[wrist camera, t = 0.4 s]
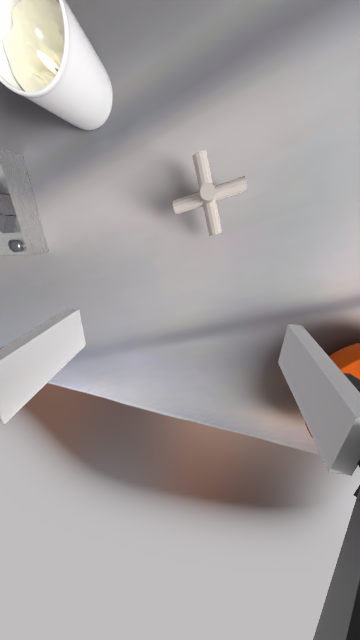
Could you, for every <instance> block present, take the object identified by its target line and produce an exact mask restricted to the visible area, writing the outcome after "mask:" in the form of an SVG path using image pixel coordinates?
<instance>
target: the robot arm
mask: <svg viewBox="0 0 360 640" xmlns="http://www.w3.org/2000/svg"><path fill="white" fill-rule="evenodd" d="M85 345H86V343H85V338H84V333H83V328H82V322H81V317H80V312H79V309H70V308H68V309H66V310H64V311H63V312H61V313H59V314H58V315H56V316H54V317H53V318H51V319H49V320H48V321H46V322H44V323H43V324H41V325H39V326H38V327H36V328H34V329H33V330H31V331H29V332H28V333H26V334H24V335H23V336H21V337H19V338H18V339H16V340H14V341H13V342H11V343H10V344H8V345H6V346H4V347H2V348H1V349H0V424H3V425H4V424H5V423H6V422H7V421H8V420H9V419H10V418H11V417H13V415H15V413H17V412H18V411H19V410H20V409H21V408H22V407H23V406H24V405H25V404H26V403H27V402H28V401H29V400H30V399H31V398H32V397H33V396H34V395H35V394H36V393H37V392H38V391H39V390H40V389H41V388H42V387H43V386H44V385H45V384H46V383H47V382H48V381H49V380H50V379H52V378H53V377H54V376H55V375H56V374H57V373H58V372H59V371H60V370H61V369H62V368H63V367H64V366H65V365H66V364H67V363H68V362H69V361H70V360H71V359H72V358H73V357H74V356H75V355H76V354H77V353H78V352H79V351H80V350H81V349H82V348H83V347H84V346H85ZM278 364H279V366H280V368H281V370H282V372H283V375H284V377H285V379H286V381H287V383H288V385H289V388H290V390H291V392H292V394H293V396H294V398H295V400H296V403H297V405H298V407H299V409H300V411H301V413H302V416H303V418H304V420H305V422H306V424H307V426H308V429H309V431H310V433H311V435H312V437H313V439H314V441H315V444H316V446H317V448H318V450H319V452H320V454H321V457H322V459H323V461H324V463H325V465H326V467H327V470H328V472H331V473H338V474H345V475H352V474H353V472H354V471H355V469H356V467H357V466H358V465H359V467H360V380H359V379H358V378H356V377H355V376H353V375H352V374H349V373H343V372H342V371H341V370H340V369H339V368H338V367H337V366H336V364H335V363H334V362H333V361H332V360H331V359H330V357H329V356H328V355H327V354H326V353H325V352H324V350H323V349H322V348H321V347H320V346H319V345H318V343H317V342H316V341H315V340H314V339H313V338H312V336H311V335H310V334H309V333H308V332H307V331H306V330H305V328H304V327H303V326H302V325H293V324H288V326H287V330H286V334H285V337H284V341H283V345H282V349H281V353H280V357H279V361H278ZM354 496H356V497H357V499H356V502H355V505H354V509H353V512H352V515H351V519H350V522H349V525H348V528H347V532H346V535H345V538H344V541H343V545H342V548H341V551H340V554H339V558H338V561H337V564H336V568H335V571H334V574H333V577H332V580H331V584H330V587H329V590H328V593H327V597H326V600H325V603H324V607H323V610H322V613H321V616H320V619H319V623H318V626H317V629H316V632H315V636H314V639H313V640H360V486H359V487H358V489H357V490H356V492H355V494H354Z"/></svg>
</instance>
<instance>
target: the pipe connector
mask: <svg viewBox="0 0 360 640" xmlns="http://www.w3.org/2000/svg"><path fill="white" fill-rule="evenodd" d="M193 161H194V165H195V170H196V175H197V179H198V184H199V189H200V192H197V193H194V194H191V195H188V196H185V197H182V198H180V199H177V200H174V201H172V204H173V209H174V212H175V214H180V213H183V212H186V211H189V210H192V209H195V208H198V207H201V206H203V207H204V212H205V217H206V221H207V226H208V231H209V235H210V236H211V235H215V234H218V233H221V232H222V230H221V225H220V220H219V214H218V209H217V204H216V201H219V200H222V199H225V198H228V197H231V196H234V195H237V194H240V193H243V192H246V191H247V183H246V178H245V176H243V177H240V178H237V179H234V180H232V181H229V182H226V183H223V184H220V185H217V186H214V185H213V183H212V178H211V173H210V168H209V163H208V157H207V152H206V151H200V152H198V153H196V154H194V155H193Z"/></svg>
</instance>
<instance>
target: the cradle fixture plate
mask: <svg viewBox="0 0 360 640" xmlns="http://www.w3.org/2000/svg"><path fill="white" fill-rule="evenodd" d="M47 251H48V247H47V243H46V240H45V236H44V232H43V228H42V225H41V221H40V217H39V213H38V210H37V206H36V202H35V199H34V195H33V191H32V187H31V184H30V180H29V176H28V172H27V169H26V165H25V161H24V157H23V156H22V155H19V154H16V153H13V152H10V151H7V150H5V149H2V148H0V255H30V254H36V253H42V252H47Z"/></svg>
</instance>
